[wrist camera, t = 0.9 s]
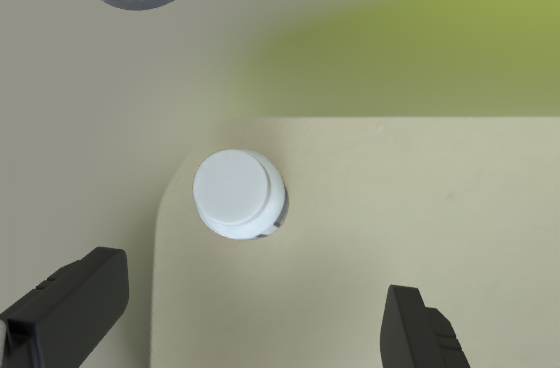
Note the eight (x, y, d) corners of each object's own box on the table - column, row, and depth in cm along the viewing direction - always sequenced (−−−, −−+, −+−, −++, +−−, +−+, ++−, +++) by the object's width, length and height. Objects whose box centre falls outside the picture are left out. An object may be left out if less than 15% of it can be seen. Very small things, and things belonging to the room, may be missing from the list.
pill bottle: (256, 155, 30) (235, 114, 20) (303, 206, 29) (304, 188, 19) (205, 202, 29) (158, 183, 20) (251, 254, 29) (225, 261, 19)
